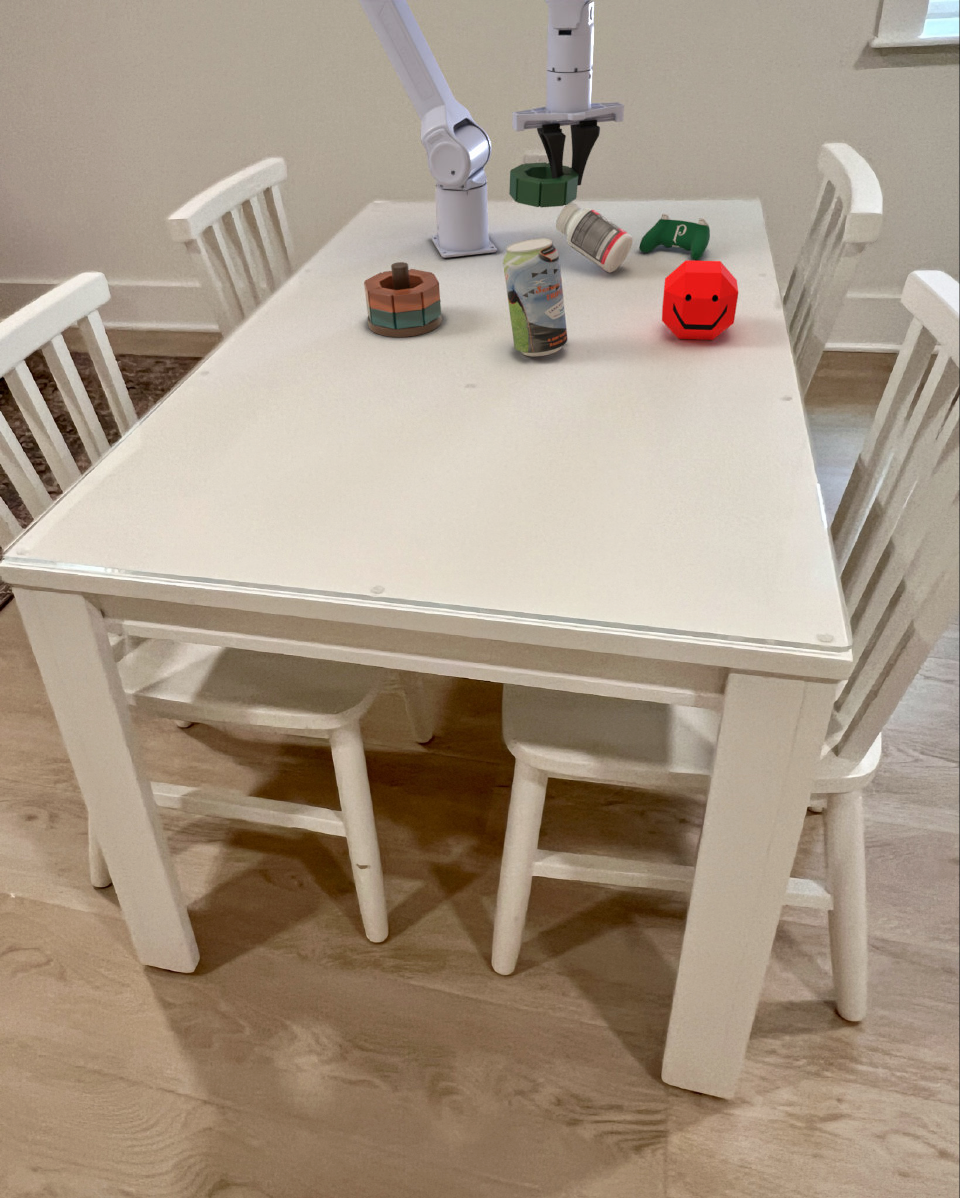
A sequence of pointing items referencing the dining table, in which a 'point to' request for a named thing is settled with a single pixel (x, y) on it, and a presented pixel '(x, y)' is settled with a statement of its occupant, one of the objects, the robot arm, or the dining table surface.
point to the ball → (699, 300)
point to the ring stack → (403, 302)
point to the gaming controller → (677, 236)
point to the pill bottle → (594, 236)
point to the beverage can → (535, 297)
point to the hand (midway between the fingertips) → (566, 184)
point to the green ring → (542, 185)
